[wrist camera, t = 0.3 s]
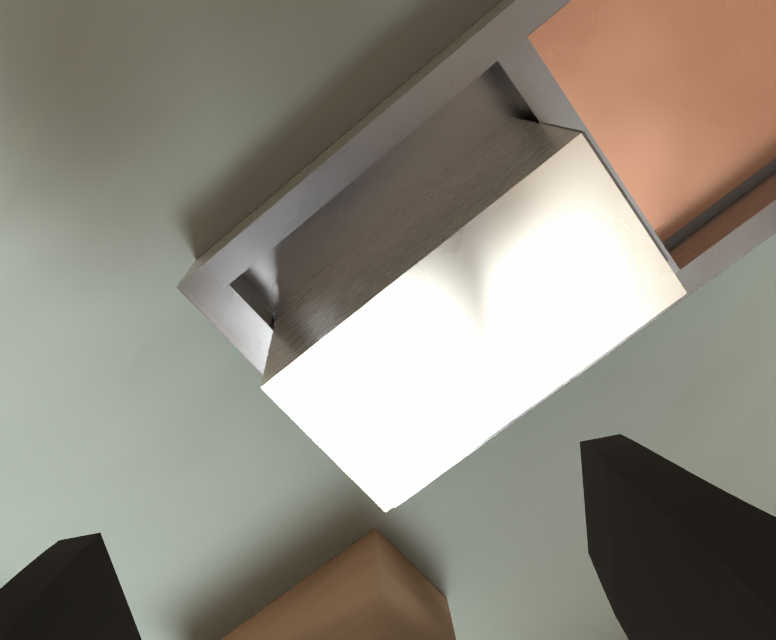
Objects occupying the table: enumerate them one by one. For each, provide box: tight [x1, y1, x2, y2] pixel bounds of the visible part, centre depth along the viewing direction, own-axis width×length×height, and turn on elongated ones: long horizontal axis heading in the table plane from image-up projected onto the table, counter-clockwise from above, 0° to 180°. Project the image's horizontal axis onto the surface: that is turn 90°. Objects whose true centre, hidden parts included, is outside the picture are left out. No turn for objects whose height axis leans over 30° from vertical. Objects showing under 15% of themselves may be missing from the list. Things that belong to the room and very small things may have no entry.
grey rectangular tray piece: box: [177, 0, 776, 512], centre depth 15 cm, size 8×22×6 cm, turn 129°
